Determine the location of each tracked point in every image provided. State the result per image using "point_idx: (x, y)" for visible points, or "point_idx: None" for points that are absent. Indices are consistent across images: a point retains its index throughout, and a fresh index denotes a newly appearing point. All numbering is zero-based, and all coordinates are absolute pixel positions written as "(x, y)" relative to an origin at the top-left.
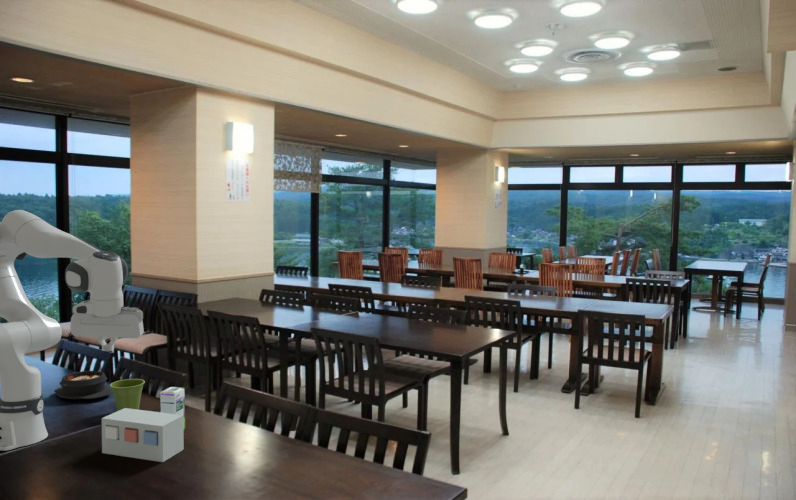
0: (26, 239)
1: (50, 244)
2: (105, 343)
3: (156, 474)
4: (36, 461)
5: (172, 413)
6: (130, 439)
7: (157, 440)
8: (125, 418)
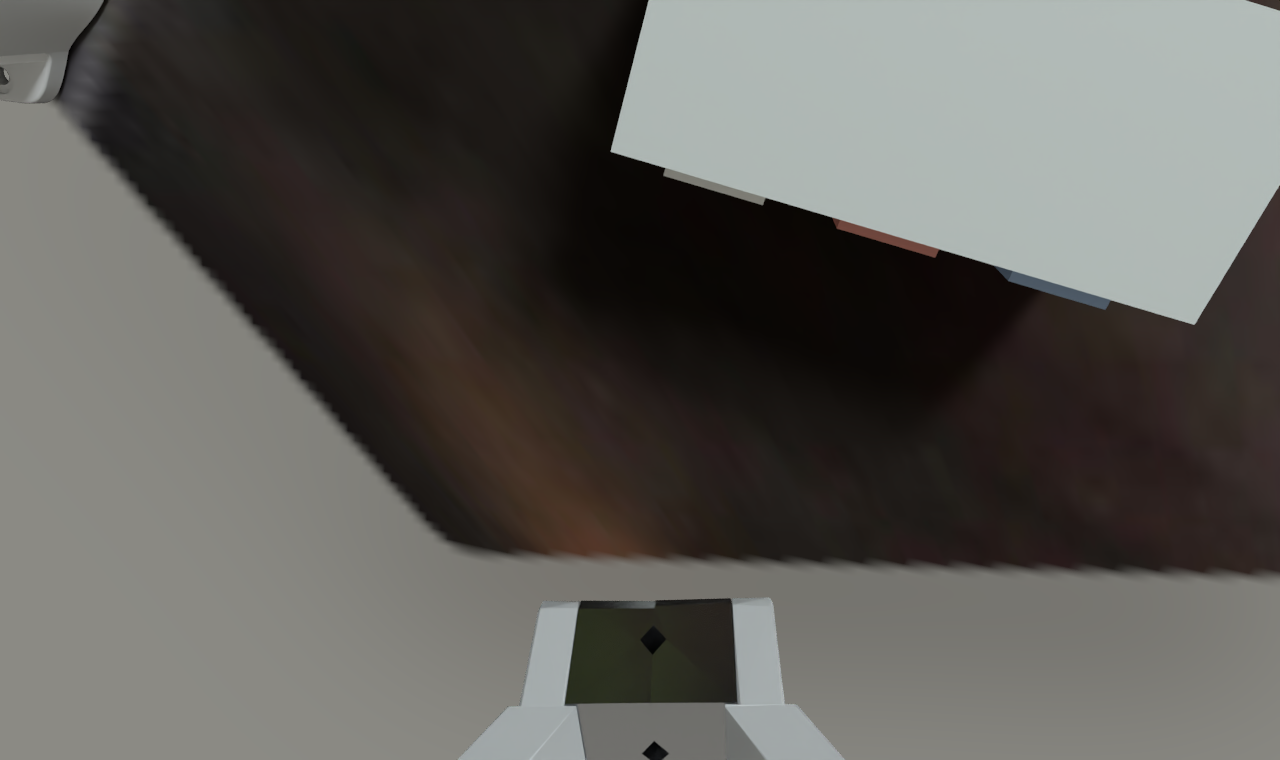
0: None
1: None
2: (572, 752)
3: (1075, 393)
4: (333, 241)
5: None
6: None
7: None
8: (819, 151)
